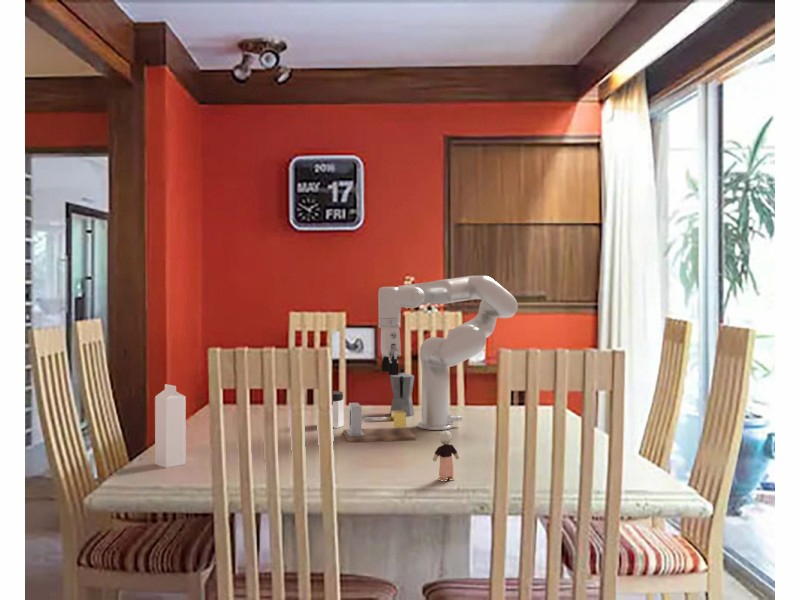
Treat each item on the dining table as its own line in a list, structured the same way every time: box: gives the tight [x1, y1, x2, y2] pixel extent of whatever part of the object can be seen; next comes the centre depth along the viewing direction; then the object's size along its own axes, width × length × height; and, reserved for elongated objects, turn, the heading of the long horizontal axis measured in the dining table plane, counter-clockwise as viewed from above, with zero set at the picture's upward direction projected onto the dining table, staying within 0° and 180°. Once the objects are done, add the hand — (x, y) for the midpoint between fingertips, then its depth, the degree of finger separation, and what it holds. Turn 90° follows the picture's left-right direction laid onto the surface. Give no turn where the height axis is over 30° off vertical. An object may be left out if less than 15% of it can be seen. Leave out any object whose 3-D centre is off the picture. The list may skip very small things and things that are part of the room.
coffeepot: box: [389, 367, 415, 417], centre depth 280 cm, size 15×9×18 cm, turn 178°
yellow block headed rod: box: [362, 410, 407, 428], centre depth 241 cm, size 14×5×5 cm, turn 101°
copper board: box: [342, 427, 417, 443], centre depth 241 cm, size 22×15×1 cm
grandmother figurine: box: [432, 430, 460, 481], centre depth 188 cm, size 8×4×13 cm, turn 131°
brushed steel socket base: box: [345, 402, 365, 437], centre depth 240 cm, size 5×10×10 cm, turn 11°
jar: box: [332, 390, 345, 429], centre depth 257 cm, size 9×8×12 cm
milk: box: [154, 383, 187, 469], centre depth 201 cm, size 6×6×22 cm
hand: (389, 373), depth 249 cm, fingers open, 9 cm apart
